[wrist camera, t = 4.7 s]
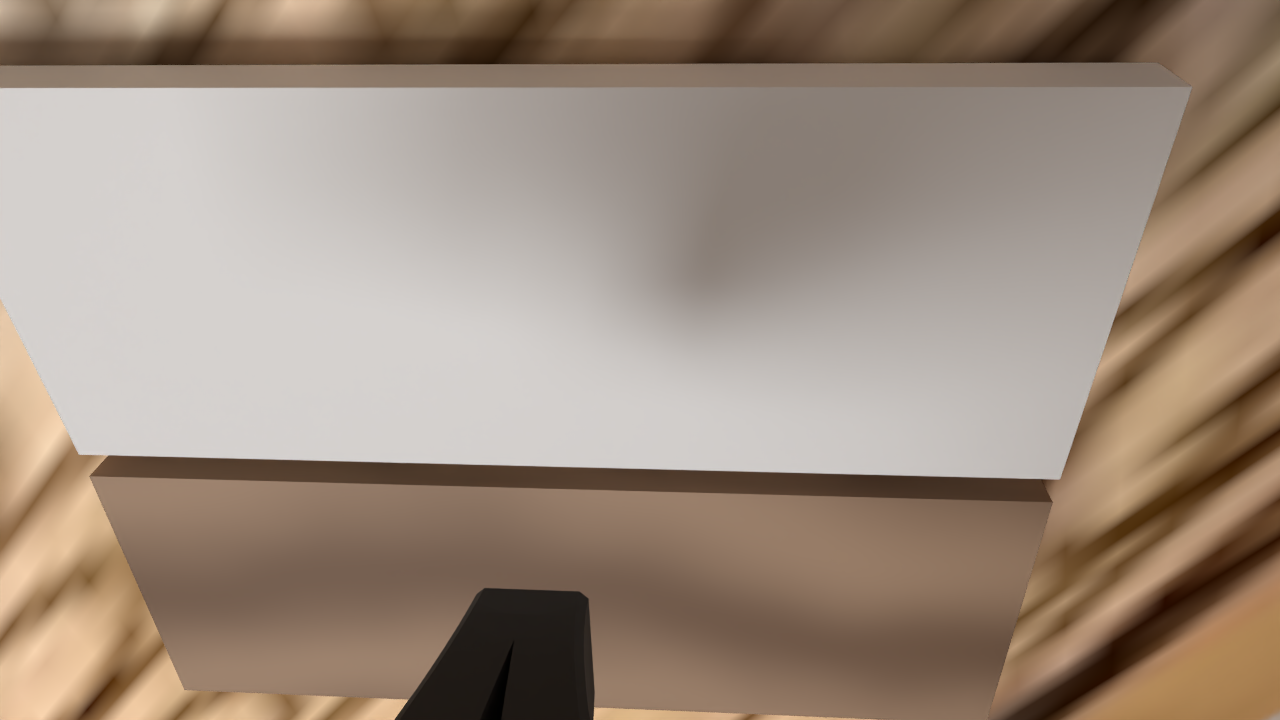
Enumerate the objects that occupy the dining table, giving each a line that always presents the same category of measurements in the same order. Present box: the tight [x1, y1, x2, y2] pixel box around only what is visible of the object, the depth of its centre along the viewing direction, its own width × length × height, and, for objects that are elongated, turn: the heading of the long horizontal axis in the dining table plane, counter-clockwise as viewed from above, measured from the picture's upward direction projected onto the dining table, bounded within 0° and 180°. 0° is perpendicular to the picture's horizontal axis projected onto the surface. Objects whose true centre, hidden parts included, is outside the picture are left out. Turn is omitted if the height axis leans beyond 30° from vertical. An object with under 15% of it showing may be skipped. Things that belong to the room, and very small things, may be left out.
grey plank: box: [0, 63, 1192, 480], centre depth 16 cm, size 8×20×1 cm, turn 91°
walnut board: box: [89, 455, 1053, 720], centre depth 21 cm, size 7×20×1 cm, turn 91°
